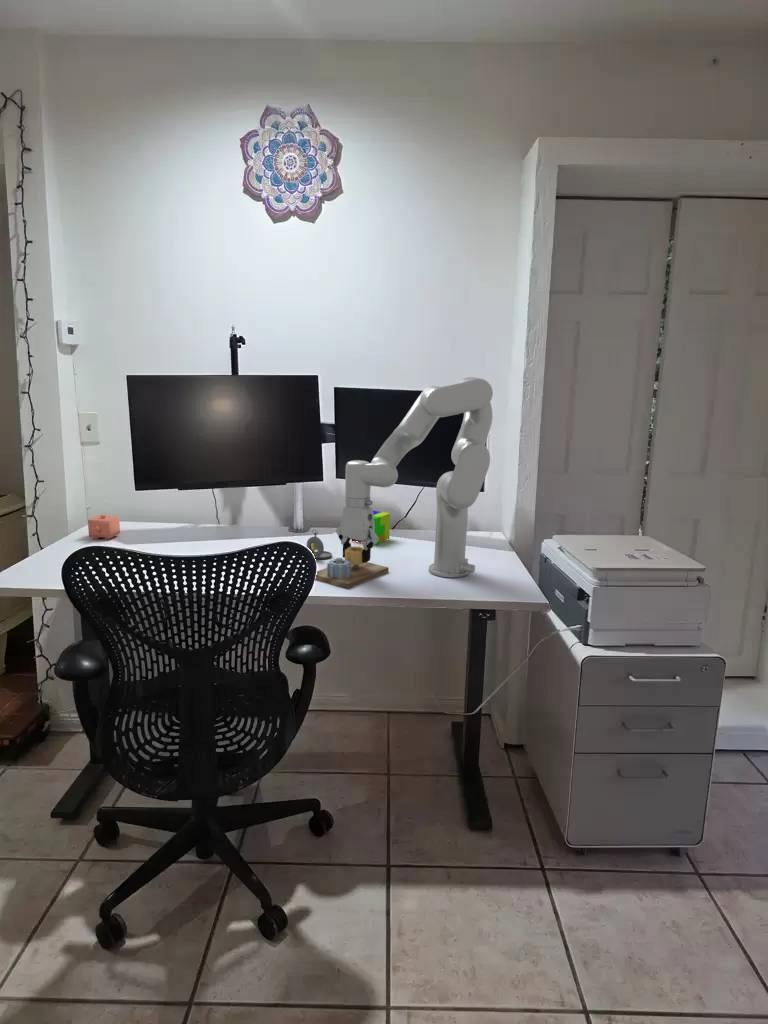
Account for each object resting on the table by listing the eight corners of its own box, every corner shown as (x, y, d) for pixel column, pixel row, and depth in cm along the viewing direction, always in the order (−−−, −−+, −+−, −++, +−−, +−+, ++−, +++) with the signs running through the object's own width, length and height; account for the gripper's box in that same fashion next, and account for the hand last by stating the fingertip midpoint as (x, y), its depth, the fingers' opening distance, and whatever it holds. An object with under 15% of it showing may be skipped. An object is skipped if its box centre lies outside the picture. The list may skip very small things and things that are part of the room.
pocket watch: (332, 554, 220) (333, 525, 218) (330, 561, 212) (331, 531, 210) (308, 553, 220) (308, 524, 218) (305, 561, 212) (305, 531, 209)
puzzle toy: (366, 535, 245) (366, 509, 242) (389, 539, 240) (390, 513, 237) (351, 541, 236) (351, 514, 234) (374, 546, 231) (375, 518, 229)
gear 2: (371, 561, 201) (372, 548, 200) (358, 566, 196) (358, 553, 195) (354, 556, 205) (354, 544, 204) (340, 561, 200) (340, 549, 199)
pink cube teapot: (84, 542, 225) (82, 518, 223) (102, 533, 236) (100, 510, 234) (105, 543, 224) (104, 520, 222) (123, 534, 235) (121, 512, 234)
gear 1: (355, 574, 196) (355, 561, 195) (340, 580, 190) (340, 567, 189) (337, 569, 200) (337, 556, 199) (322, 575, 194) (322, 562, 193)
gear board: (388, 572, 203) (389, 552, 202) (347, 588, 188) (348, 567, 186) (353, 562, 211) (353, 543, 210) (311, 578, 196) (311, 557, 194)
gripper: (388, 504, 194) (386, 562, 199) (343, 495, 204) (342, 550, 208) (373, 508, 188) (371, 567, 193) (327, 499, 198) (326, 556, 202)
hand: (356, 558), depth 200 cm, fingers closed on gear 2, 6 cm apart
